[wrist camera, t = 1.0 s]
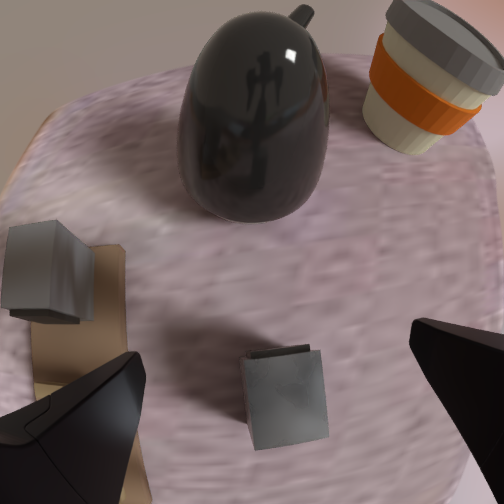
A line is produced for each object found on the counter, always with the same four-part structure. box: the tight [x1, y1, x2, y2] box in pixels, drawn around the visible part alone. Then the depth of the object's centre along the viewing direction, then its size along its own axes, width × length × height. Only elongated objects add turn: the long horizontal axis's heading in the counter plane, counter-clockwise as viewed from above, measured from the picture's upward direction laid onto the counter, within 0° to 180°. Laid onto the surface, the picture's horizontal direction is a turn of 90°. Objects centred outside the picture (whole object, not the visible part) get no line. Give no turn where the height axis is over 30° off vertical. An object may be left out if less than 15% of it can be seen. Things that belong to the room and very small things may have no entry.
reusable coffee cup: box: [362, 0, 504, 155], centre depth 22 cm, size 13×13×15 cm
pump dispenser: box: [177, 4, 330, 224], centre depth 17 cm, size 10×10×15 cm
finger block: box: [239, 344, 329, 450], centre depth 17 cm, size 5×4×6 cm
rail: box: [1, 220, 152, 504], centre depth 15 cm, size 20×8×8 cm, turn 6°
